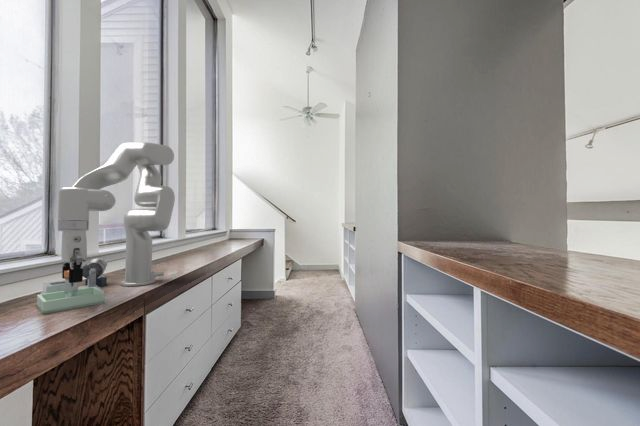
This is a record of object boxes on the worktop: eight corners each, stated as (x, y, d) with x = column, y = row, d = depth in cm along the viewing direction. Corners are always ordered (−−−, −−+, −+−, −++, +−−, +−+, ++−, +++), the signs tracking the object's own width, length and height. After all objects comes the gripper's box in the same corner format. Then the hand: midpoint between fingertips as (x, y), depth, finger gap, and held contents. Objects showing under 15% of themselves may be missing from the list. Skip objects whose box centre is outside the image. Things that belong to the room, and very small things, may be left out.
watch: (108, 283, 121) (109, 257, 122) (98, 287, 113) (99, 259, 114) (93, 284, 120) (94, 257, 120) (82, 288, 112) (83, 260, 112)
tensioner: (97, 289, 112) (98, 260, 112) (104, 293, 106) (105, 263, 106) (40, 297, 99) (41, 265, 99) (45, 302, 93) (46, 268, 94)
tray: (94, 296, 101) (95, 286, 101) (104, 303, 94) (104, 292, 94) (36, 306, 90) (37, 294, 90) (42, 314, 82) (43, 302, 82)
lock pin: (77, 299, 94) (78, 269, 95) (80, 301, 92) (81, 270, 92) (61, 302, 91) (63, 270, 92) (64, 304, 89) (65, 271, 89)
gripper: (95, 226, 90) (94, 282, 89) (81, 225, 101) (80, 274, 100) (63, 227, 84) (62, 286, 83) (52, 225, 95) (51, 278, 94)
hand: (72, 280), depth 92 cm, fingers open, 9 cm apart
